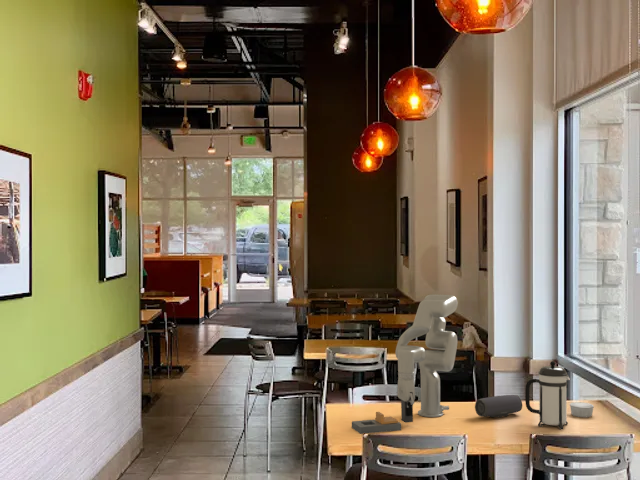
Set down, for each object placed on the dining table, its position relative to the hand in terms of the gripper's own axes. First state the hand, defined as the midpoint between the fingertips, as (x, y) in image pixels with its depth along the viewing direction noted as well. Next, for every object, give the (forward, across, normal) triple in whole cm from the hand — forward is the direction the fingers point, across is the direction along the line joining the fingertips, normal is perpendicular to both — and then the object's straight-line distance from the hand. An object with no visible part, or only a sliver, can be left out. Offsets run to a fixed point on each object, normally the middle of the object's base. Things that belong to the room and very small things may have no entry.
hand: (407, 414), depth 333 cm
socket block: (+5, +1, -16) cm, 17 cm away
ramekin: (+8, +9, +90) cm, 91 cm away
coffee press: (+7, +21, +63) cm, 67 cm away
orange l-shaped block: (+2, +1, -11) cm, 11 cm away
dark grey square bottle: (+3, 0, 0) cm, 3 cm away
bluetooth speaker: (+7, -2, +50) cm, 51 cm away
